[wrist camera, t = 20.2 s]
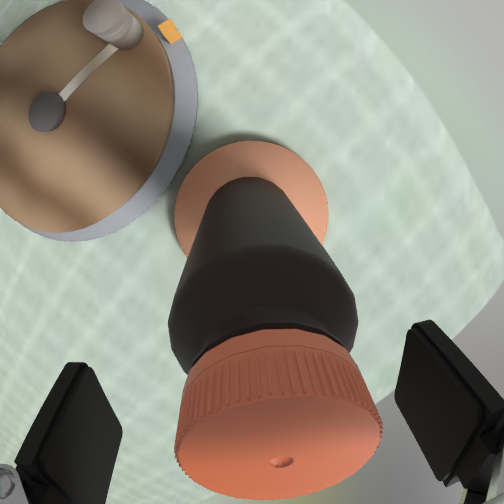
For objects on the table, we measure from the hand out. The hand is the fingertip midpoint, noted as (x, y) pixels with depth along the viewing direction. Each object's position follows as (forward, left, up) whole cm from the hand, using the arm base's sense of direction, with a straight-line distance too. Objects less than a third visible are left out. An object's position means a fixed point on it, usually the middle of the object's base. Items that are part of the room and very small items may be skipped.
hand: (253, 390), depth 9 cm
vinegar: (0, 0, -18) cm, 18 cm away
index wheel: (-13, +11, -17) cm, 24 cm away
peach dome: (+1, 0, -19) cm, 19 cm away
